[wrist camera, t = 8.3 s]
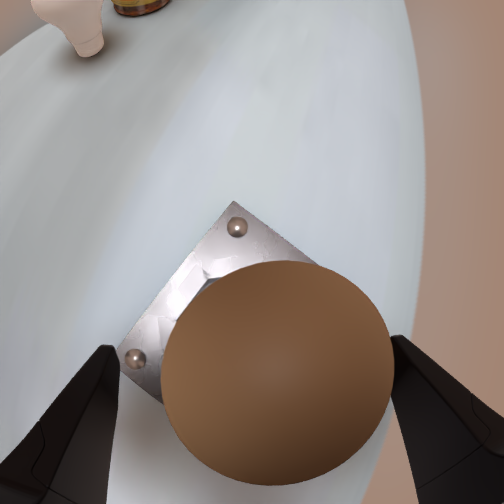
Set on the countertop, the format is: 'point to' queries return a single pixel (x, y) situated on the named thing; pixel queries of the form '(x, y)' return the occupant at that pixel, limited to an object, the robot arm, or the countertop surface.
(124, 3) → the sauce bottle
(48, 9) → the lightbulb
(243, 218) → the bracket
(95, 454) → the robot arm
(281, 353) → the brown round cylinder
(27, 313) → the countertop surface
